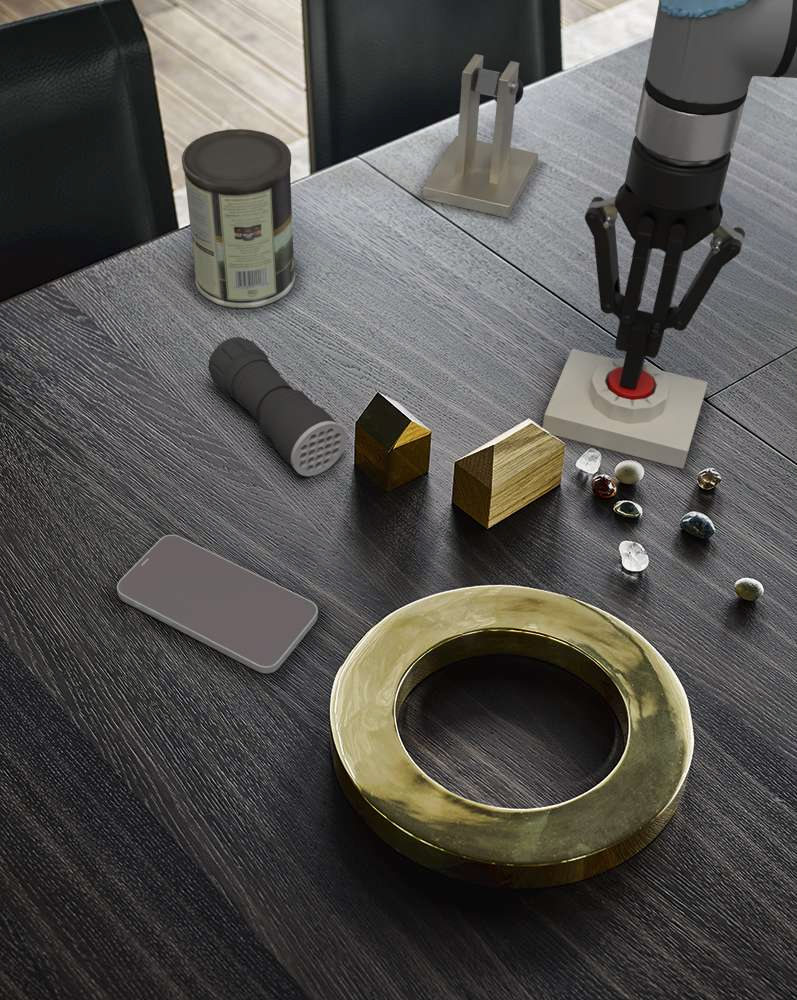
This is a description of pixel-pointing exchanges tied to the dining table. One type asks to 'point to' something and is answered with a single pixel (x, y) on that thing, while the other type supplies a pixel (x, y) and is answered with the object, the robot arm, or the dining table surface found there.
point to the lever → (494, 84)
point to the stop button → (641, 391)
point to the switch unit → (483, 153)
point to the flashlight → (277, 407)
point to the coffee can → (240, 217)
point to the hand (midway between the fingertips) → (630, 378)
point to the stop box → (625, 410)
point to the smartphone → (218, 603)
